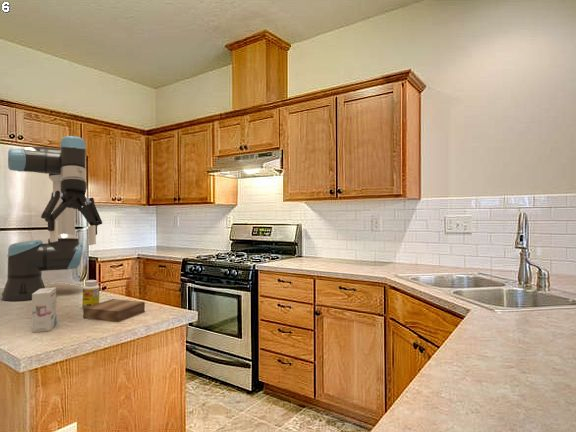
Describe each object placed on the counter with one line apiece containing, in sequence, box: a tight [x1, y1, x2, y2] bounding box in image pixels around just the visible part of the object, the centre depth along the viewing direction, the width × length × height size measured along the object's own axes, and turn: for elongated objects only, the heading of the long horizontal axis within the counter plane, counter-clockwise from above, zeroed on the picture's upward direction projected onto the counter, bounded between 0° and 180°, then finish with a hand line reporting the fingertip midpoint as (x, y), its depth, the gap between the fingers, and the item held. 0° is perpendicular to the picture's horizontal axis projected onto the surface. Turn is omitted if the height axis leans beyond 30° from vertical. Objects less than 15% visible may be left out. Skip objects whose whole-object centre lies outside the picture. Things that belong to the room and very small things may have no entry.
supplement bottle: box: [82, 279, 100, 308], centre depth 141 cm, size 6×6×10 cm
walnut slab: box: [82, 298, 146, 323], centre depth 133 cm, size 14×14×4 cm
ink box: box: [31, 287, 57, 333], centre depth 117 cm, size 9×5×12 cm, turn 21°
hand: (74, 243), depth 123 cm, fingers open, 13 cm apart
